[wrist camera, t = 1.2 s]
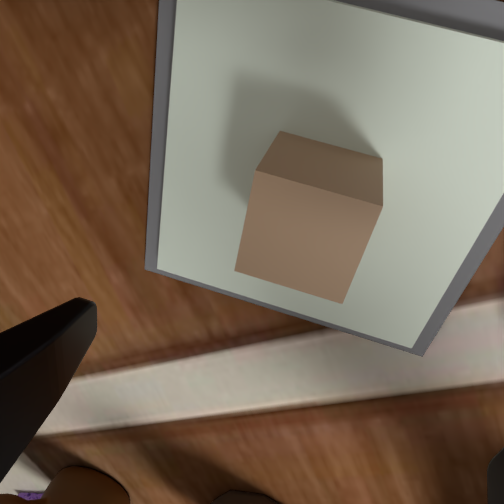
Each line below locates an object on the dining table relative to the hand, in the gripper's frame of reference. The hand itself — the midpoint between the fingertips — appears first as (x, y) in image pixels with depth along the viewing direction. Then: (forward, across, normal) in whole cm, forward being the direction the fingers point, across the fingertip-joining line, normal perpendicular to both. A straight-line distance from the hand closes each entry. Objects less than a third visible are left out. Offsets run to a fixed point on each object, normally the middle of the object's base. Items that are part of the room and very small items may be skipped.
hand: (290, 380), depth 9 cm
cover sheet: (+11, 0, 0) cm, 11 cm away
